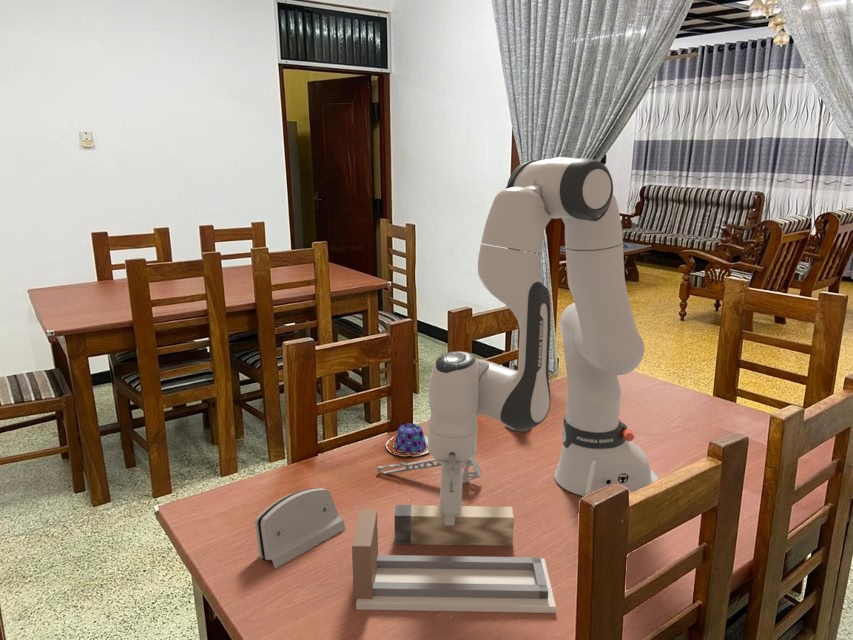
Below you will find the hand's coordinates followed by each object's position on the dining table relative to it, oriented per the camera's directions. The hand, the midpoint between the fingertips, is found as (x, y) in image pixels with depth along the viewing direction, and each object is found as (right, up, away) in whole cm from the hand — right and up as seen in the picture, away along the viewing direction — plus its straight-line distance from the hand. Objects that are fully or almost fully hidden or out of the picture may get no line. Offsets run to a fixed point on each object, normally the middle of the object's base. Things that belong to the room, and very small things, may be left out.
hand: (449, 508), depth 119 cm
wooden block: (+1, -6, +2) cm, 7 cm away
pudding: (-8, +4, +38) cm, 39 cm away
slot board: (+1, -10, -11) cm, 15 cm away
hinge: (-28, -7, +2) cm, 29 cm away
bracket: (-4, 0, +23) cm, 24 cm away
